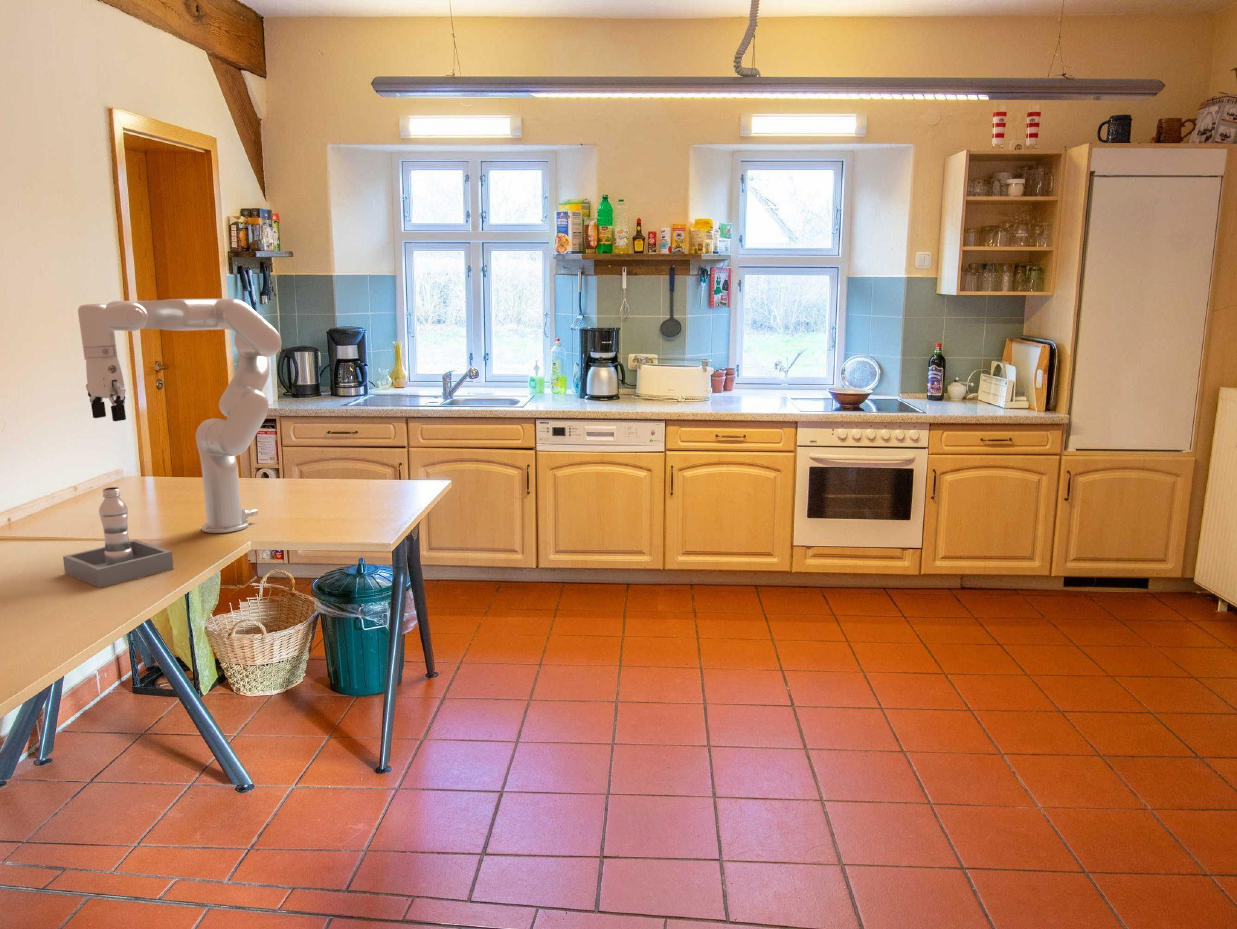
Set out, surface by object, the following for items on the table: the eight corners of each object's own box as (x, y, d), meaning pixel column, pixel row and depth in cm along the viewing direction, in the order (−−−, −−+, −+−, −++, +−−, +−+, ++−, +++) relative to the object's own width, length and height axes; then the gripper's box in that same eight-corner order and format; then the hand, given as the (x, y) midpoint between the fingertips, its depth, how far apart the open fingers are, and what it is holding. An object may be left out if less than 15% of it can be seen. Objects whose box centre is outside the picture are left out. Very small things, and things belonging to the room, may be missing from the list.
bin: (137, 556, 254) (135, 539, 253) (173, 568, 243) (171, 551, 242) (65, 573, 240) (62, 556, 239) (99, 588, 229) (97, 569, 228)
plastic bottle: (105, 573, 237) (95, 493, 233) (105, 565, 243) (96, 487, 239) (134, 569, 240) (125, 490, 235) (134, 561, 245) (125, 484, 241)
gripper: (132, 353, 247) (141, 419, 251) (97, 350, 257) (106, 414, 260) (103, 356, 241) (112, 424, 245) (68, 352, 251) (77, 418, 254)
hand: (109, 418), depth 252 cm, fingers open, 9 cm apart
